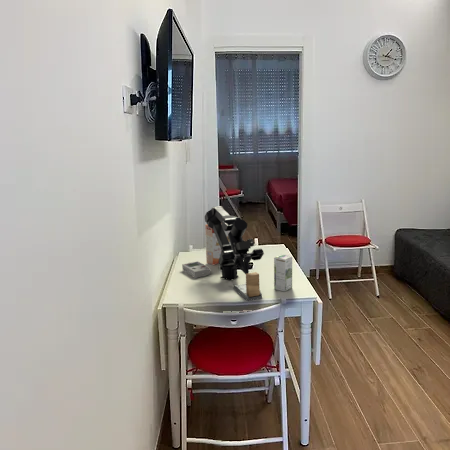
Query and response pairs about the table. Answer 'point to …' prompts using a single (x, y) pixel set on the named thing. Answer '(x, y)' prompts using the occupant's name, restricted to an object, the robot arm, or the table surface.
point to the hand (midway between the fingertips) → (247, 274)
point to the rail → (242, 291)
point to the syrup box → (283, 272)
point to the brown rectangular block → (252, 284)
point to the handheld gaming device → (196, 269)
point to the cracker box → (212, 246)
